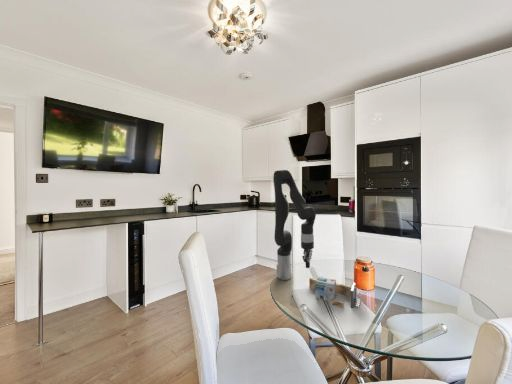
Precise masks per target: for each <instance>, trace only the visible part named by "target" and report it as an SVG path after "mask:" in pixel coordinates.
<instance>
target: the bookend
mask: <svg viewBox="0 0 512 384" xmlns="http://www.w3.org/2000/svg"><path fill="white" fill-rule="evenodd" d="M356 284H357V283H356V282H353V283H352V285H351V286H352V288H351V297H350V309H354V308H358V309H359V308H360V306H361V305H360V304H361V299H360V298H357V297H356V298H355V290H356V286H357V285H356Z"/></svg>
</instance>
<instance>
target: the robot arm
mask: <svg viewBox="0 0 512 384" xmlns="http://www.w3.org/2000/svg"><path fill="white" fill-rule="evenodd" d="M272 176H273V180H272V181H273V187H274V212H275V213H274V214H275V215H274V216H275V218H274V219H275V222H274V223H275V224H274V225H275V226H274V235H273V236H274V237H273V238H274V242H275V244H276V245H277V246H278V248H277V250H276V253H277V254H276V255H277V256H276V257H277V258H276V259H277V264H276V278H277V279H279V280H282V281H289V280H290V279H291V278H292V260H291V259H292V257H291V255H292V254H291V253H292V249H293V248H292V247H293V238H292V237H293V236H292V234H291V232H290V231H289V230H285V224H286V222H287V220H288V217H289V213H290V209H289V208H290V206H289V205H290V204H289V201H288V199H287V197H286V196H285V195H284V192H283V187H282V186H283V185H287V186H288V188H289V199H290V200H291V202H292V203H293V204H294V206H295V211H296V214H297V216H298V218H299V219H300V220H302V221H304V222H303V223H301V226H300V231H301V232H300V248H301V249H302V250H303V255H302V257H301V258H302V260H303V263H305V268H306V269H310V268H311V260H312V257H313V255H312V254H313V249H314V248H315V242H314V241H315V240H314V238H315V237H314V224H315V221H316V216H317V213H316V209H315V208H314V207H313V206H306V204H307V203H306V199H305V198H304V197H303V195H302V194H301V192H300V191H299V189H298V186H297V184H296V182H295V179H294V178H293V175H292V173H291V172H290V171H289V170H288V169H287V170H286V169H283V170H282V169H281V170H280V169H279V170H275V171H274V173H273V175H272ZM305 206H306V207H305Z"/></svg>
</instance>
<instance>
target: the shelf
mask: <svg viewBox="0 0 512 384" xmlns="http://www.w3.org/2000/svg"><path fill="white" fill-rule="evenodd" d="M317 279H318V278H314V277H309V280H308V281H309V285H308V287H309V289H313V290H316V280H317ZM351 288H352V285H347V284H343V283H337V282H336V295H340V296H345V297H350V298H351ZM357 288H358V287H356V290H355V298H356V299H357V294H358V293H357ZM344 304H345V303H344V302H343V301H339V300H336V299H335V300H332V302H331V305H332V306H335V307H341V308H344V306H345V305H344Z"/></svg>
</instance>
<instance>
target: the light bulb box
mask: <svg viewBox="0 0 512 384" xmlns="http://www.w3.org/2000/svg"><path fill="white" fill-rule="evenodd" d="M316 279H317V280H316V289H315V298H316V299H320V300H325V301H328V302H331V303H332V300H335V301H336V297H337V294H336V283H337V280H336V279H334V278H328V277H323V276H318V277H317V278H316Z"/></svg>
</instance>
